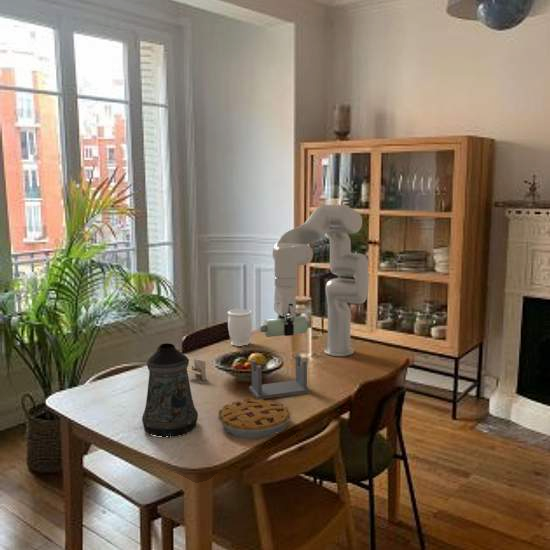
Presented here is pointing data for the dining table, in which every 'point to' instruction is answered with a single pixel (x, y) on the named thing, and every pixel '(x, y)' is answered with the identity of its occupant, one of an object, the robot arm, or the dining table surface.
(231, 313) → the jar
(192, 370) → the architectural model
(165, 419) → the beer stein
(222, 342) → the dining table surface
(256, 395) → the roll holder
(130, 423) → the dining table surface
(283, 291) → the robot arm
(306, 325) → the roll
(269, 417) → the pie
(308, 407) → the dining table surface
